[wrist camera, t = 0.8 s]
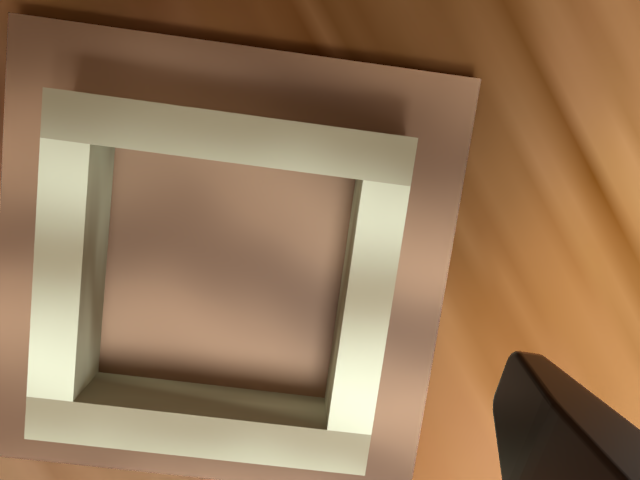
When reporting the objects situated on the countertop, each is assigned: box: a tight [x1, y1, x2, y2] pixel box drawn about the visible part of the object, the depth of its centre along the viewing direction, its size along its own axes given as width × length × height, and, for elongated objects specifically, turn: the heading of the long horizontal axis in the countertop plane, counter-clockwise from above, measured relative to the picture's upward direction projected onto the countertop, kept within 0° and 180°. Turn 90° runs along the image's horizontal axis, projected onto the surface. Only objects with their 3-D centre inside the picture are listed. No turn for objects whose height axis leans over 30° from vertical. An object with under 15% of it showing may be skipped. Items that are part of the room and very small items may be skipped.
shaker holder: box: [0, 12, 481, 480], centre depth 21 cm, size 16×16×3 cm
